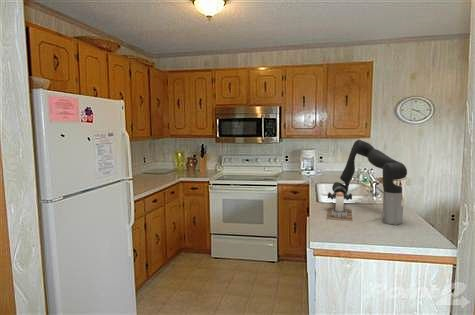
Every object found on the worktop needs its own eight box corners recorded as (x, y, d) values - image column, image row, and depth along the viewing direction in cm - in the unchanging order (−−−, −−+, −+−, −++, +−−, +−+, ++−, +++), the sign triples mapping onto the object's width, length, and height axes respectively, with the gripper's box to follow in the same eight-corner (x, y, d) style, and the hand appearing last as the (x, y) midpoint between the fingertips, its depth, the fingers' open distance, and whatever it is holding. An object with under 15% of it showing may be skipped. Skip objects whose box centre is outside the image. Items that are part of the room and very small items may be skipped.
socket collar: (332, 213, 192) (332, 208, 192) (346, 214, 190) (347, 209, 189) (331, 217, 184) (331, 212, 184) (347, 218, 182) (347, 213, 181)
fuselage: (344, 216, 186) (345, 192, 185) (339, 217, 184) (340, 193, 183) (338, 214, 190) (339, 190, 189) (333, 215, 188) (334, 191, 186)
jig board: (328, 210, 206) (328, 208, 206) (351, 211, 201) (351, 209, 201) (326, 221, 181) (326, 219, 181) (352, 223, 177) (352, 221, 177)
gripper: (328, 186, 210) (327, 191, 195) (351, 187, 206) (352, 192, 190) (328, 198, 211) (327, 203, 195) (351, 199, 206) (352, 205, 191)
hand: (339, 198), depth 193 cm, fingers open, 8 cm apart
